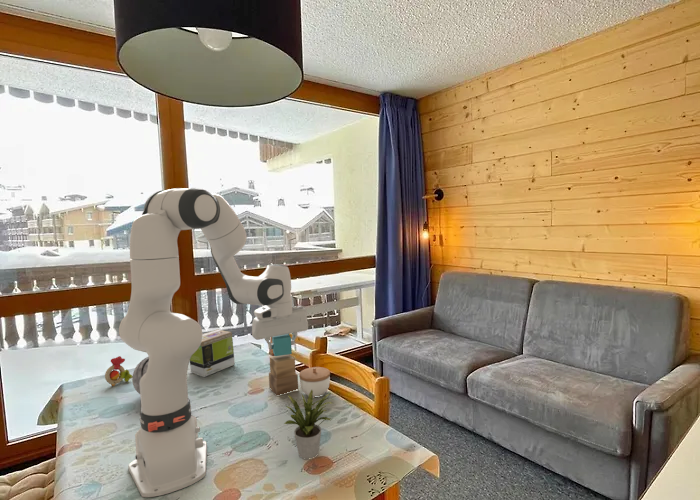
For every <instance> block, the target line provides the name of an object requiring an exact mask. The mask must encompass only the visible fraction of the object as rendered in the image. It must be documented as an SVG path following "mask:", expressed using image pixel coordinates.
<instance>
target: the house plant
mask: <svg viewBox="0 0 700 500" xmlns="http://www.w3.org/2000/svg"><path fill="white" fill-rule="evenodd" d="M300 394H301V396H302V402H303V404H302V405H301V407H304V413H305V414H303V412H302V410H301V408H300V405H299V403H298V401H297V400H296V399H295V398H293V396H292V395H290V394H289V393H288V394H286V395H287V396H288V398H289V399H290V401H291V402H290V403H292V405H293V407H294V409H293V408H292V407H290V406H288V405H285V407H286V408H287V409H289V410H290V411H291V412H292V413H293V414H290V417H291V419H292V420H291V419H289V420H286V421H285V422H284V423H283V425H297V427H296V428H295V429H294V433H293V434H294V438H295V444H296V448H297V452H298V456H299V457H300V458H301V457H302V458H301V459H303V458H305V459H304V460H310V459H309V458H312V459H314V458H313V457H315V456H316V455H317V454H318V455H319V452H320V443H321V438H322V437H321V436H322V427H321V426H320V425H321V424H322V423H323V422H325V421H327V420H328V421H330V422H331V420H332V419H331V418H329V417H327V416H321V415H322V414H323V413H324V412H327V411H328V410H327V409H324V408H326V406H327V404H333V402H332V401H326V400H328V399H329V397H328V396H330V395H331V394H332V392H329V393H328V394H326V395H323V396H322V398H321V399H319V400H317V401H315V402H313V401H314V398H313V395H312V394H313V391H312V389H311V392H310V393H309V396H307V400H306V398H305V395H304V394H303V393H302V392H301V393H300ZM325 401H326V402H325ZM315 404H316V405H315ZM313 406H315V407H313ZM304 416H305V417H304ZM320 420H322V421H321V422H319V421H320ZM317 422H319V424H316V423H317ZM318 455H317V456H318ZM317 456H316V457H317ZM316 457H315V458H316Z"/></svg>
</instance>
